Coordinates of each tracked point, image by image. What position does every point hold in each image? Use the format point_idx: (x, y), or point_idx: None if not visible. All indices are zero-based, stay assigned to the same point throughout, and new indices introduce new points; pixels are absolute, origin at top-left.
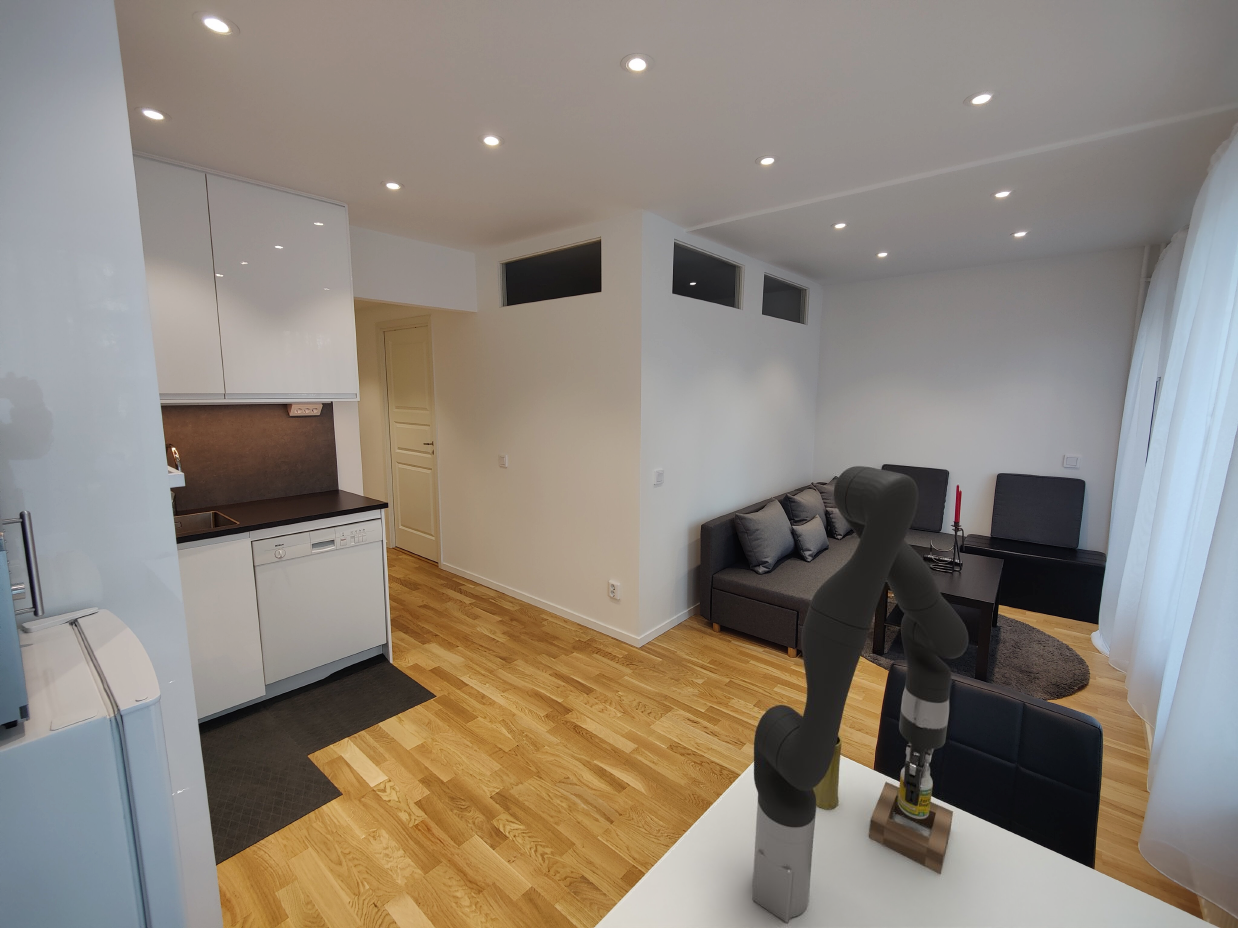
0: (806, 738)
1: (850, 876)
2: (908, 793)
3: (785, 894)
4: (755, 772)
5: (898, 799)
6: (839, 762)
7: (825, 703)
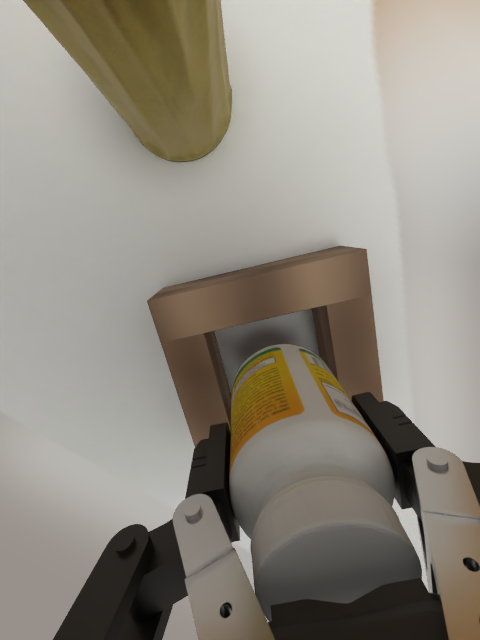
0: None
1: (13, 318)
2: (190, 479)
3: None
4: None
5: (253, 361)
6: (173, 64)
7: None
